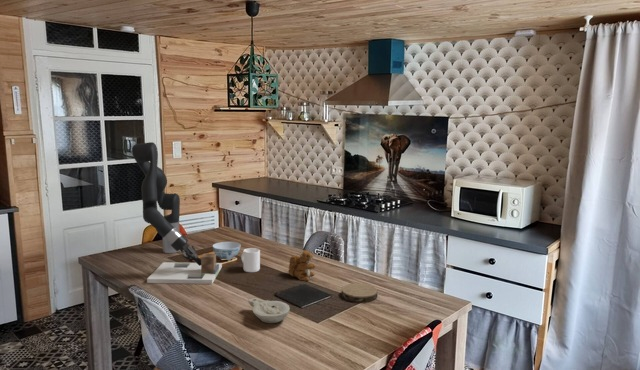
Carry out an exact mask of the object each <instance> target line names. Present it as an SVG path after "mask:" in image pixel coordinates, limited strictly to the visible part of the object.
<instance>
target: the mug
mask: <svg viewBox="0 0 640 370" xmlns="http://www.w3.org/2000/svg"><path fill="white" fill-rule="evenodd" d="M240 259H241V262H242V264H243V266H242V267H243V271H244V272H246V273H256V272H259V271H260V270H261V249H259V248H255V247H253V248H252V247H251V248H244V249H243V251H242V253H241V255H240Z"/></svg>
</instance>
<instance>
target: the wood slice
mask: <svg viewBox="0 0 640 370" xmlns="http://www.w3.org/2000/svg"><path fill="white" fill-rule="evenodd" d="M378 292H379V291H378V289H377V288H376V287H375V286H373V285H370V284H367V283H359V282H358V283H348V284H345V285H344V286H342V288H341V297H342V298H343V299H344V300H345V301H349V302H353V303H360V304H361V303H369V302H374V301H375V300H377V299H378V294H379V293H378Z"/></svg>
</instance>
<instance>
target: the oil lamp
mask: <svg viewBox="0 0 640 370" xmlns="http://www.w3.org/2000/svg"><path fill="white" fill-rule="evenodd" d="M248 304H249V305H250V306H251V307H252V312H253V314H254V316H256V317H257V318H258V319H259V320H260V321H261V322H263V323H266V324H277V323H279V322H282V321H283V320H284V319H286V317H288V316H289V315H288V314H289V313H290V305H289V304H288V303H286V302H283V301H281V300H263V299H261V298H257V297H253V298H249V299H248Z"/></svg>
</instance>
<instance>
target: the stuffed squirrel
mask: <svg viewBox="0 0 640 370" xmlns="http://www.w3.org/2000/svg"><path fill="white" fill-rule="evenodd" d="M289 258H290V259H289V265H288V271H287V272H288V274H289V275H290V277H295V278H297V279H299V281H304V282H309V281H310V277H312V276H315V273H314V272H313V271H311V270H313V269H315V268H316V265H315V263H311V261H312V259H314V257H313V254H312V253H311V252H309V251H308V250H305V249H304V250H303V251H301V252H300V253H299V255H292V256H291V257H289Z"/></svg>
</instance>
